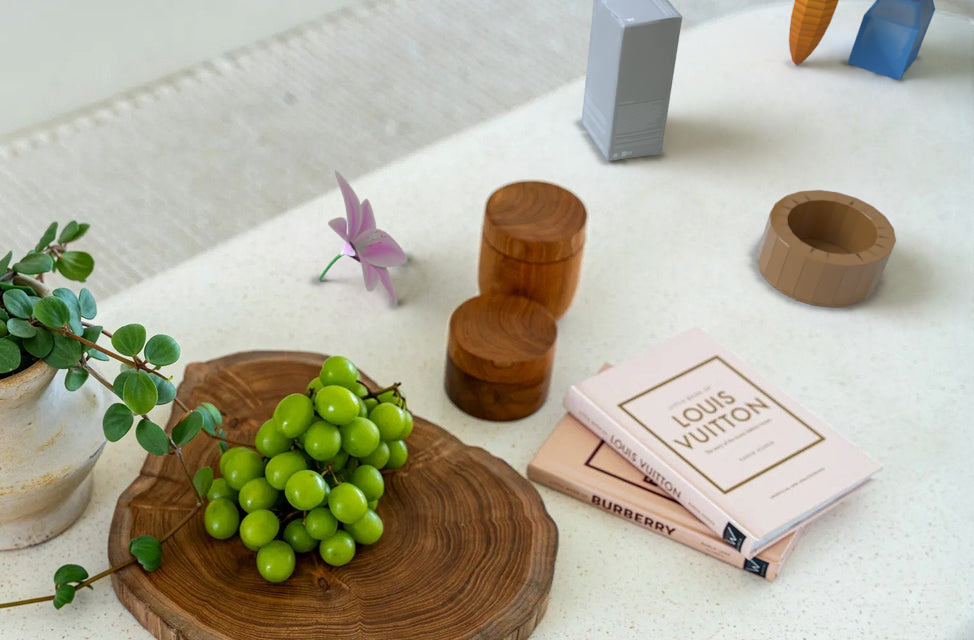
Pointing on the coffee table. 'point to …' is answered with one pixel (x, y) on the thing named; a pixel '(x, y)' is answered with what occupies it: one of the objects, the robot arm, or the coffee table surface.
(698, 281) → the coffee table surface
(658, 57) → the cosmetic box
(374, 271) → the lily
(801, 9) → the carrot
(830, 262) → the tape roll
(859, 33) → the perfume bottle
